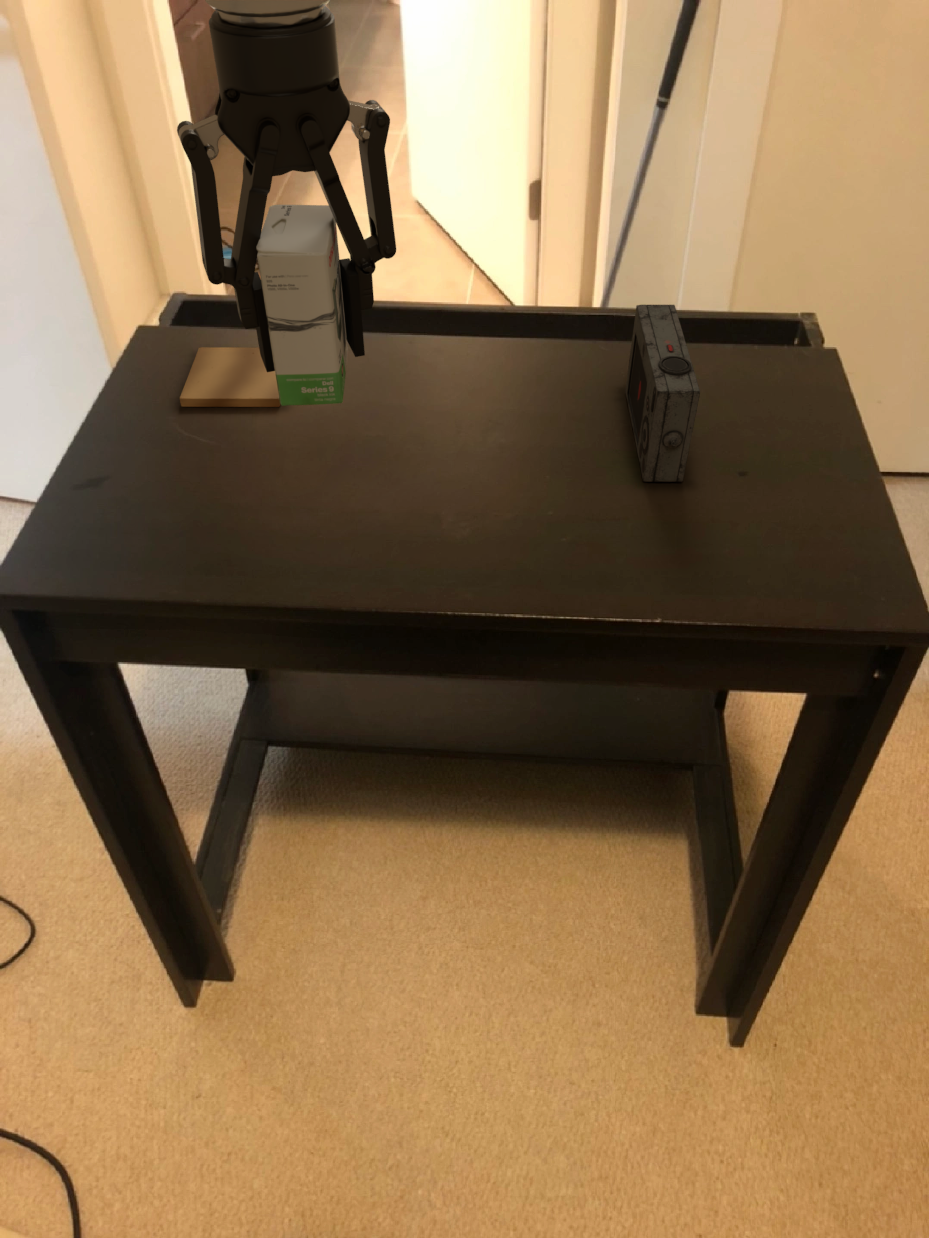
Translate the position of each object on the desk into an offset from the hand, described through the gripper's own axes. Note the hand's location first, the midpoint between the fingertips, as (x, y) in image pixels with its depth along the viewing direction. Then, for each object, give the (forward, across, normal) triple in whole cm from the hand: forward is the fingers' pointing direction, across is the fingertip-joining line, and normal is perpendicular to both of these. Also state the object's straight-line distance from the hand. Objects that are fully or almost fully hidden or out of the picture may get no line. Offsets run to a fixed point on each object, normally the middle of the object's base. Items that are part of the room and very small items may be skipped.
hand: (312, 354), depth 75 cm
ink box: (+2, 0, 0) cm, 2 cm away
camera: (+16, -32, -2) cm, 36 cm away
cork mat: (+16, +4, -26) cm, 31 cm away
